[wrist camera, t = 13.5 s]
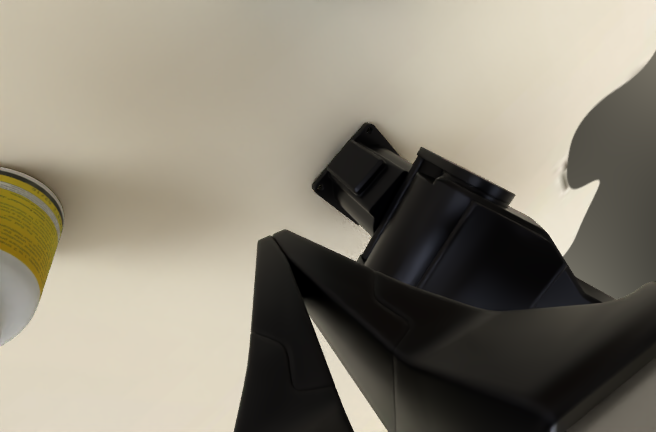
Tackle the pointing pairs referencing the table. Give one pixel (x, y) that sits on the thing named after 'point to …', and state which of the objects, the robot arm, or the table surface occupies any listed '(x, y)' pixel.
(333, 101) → the table surface
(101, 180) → the table surface
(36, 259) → the supplement bottle
